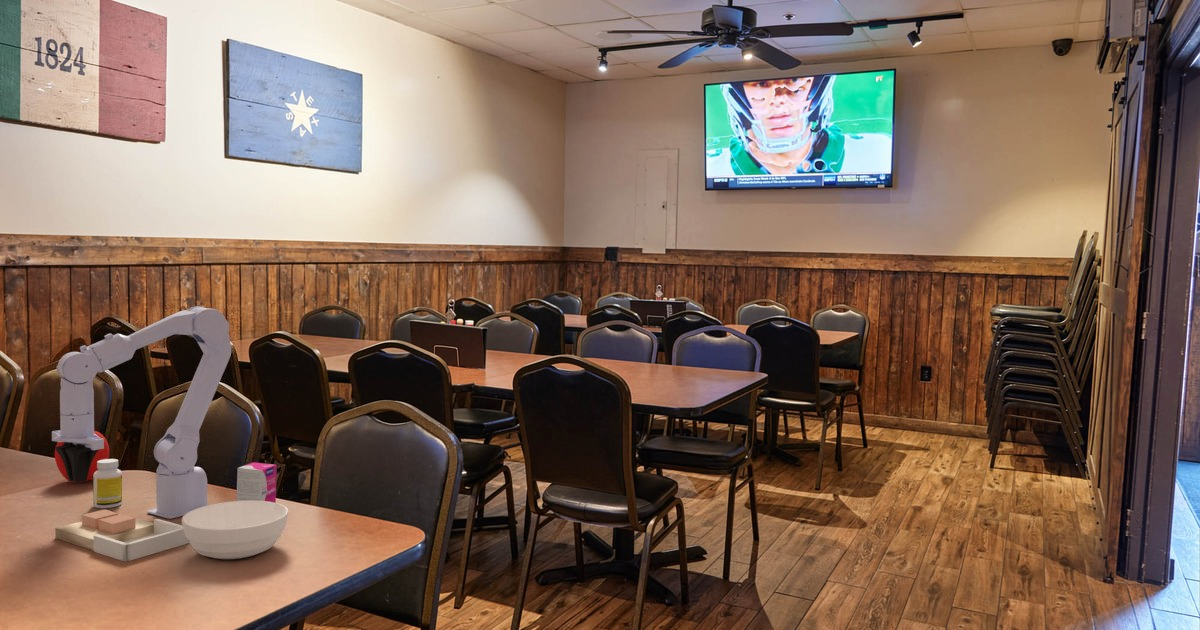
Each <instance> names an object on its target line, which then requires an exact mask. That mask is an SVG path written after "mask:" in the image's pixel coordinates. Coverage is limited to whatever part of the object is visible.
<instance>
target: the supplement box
mask: <svg viewBox="0 0 1200 630" xmlns="http://www.w3.org/2000/svg"><path fill="white" fill-rule="evenodd" d="M277 468H278V466H277V464H275V463H274V464H271V463H261V462H250V463H248V464H245V465H242V466H239V467H237V475H236V477H237V478H236V501H267V502H274V503H277V502H276V500H277V499H276V497H277Z"/></svg>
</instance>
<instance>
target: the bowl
mask: <svg viewBox="0 0 1200 630" xmlns="http://www.w3.org/2000/svg"><path fill="white" fill-rule="evenodd" d="M288 516H289V509H288V507H287V506H285V505H283V504H281V503H278V502H276V503H274V502H267V501H237V500H236V501H235V500H234V501H226V502H225V501H224V502H218V503H212V504H207V506H203V507H200V508H197V509H194V510H192V511H190V512H188V513H186V514H185V515H183V516H182V517H181V525H182V526H183V529H184V534H185V536H186V537H187V538H188V539H189V545H190V546H191V547H192V548H193V549H194V551H196V552H197V553H198V554H199V555H202V556H204V557H209V558H212V559H217V560H239V559H245V558H249V557H253V556H256V555H258V554H260V553H263V552H265V551H267V550H269V549H271V548H272V547H273V546H274V545H275V544H276V543H277V542H278V540H279V539H280V538H281V534H282V531H284V530H285V528H286V526H287V521H288Z"/></svg>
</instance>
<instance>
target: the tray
mask: <svg viewBox="0 0 1200 630" xmlns="http://www.w3.org/2000/svg"><path fill="white" fill-rule="evenodd" d="M153 523H154V533H153V534H149V535H146V536H142V537H138V538H135V539H131V540H127V541H124V542H121V541H118V540H115V539H111V538H108V537H105V536H102V535H98V534H97V535H93V546H94V550H93V552H95V553H97V554H99V555H103V556H106V557H110V558H112V559H116V560H118V561H122V562H125V563H127V562H130V561H133V560H136V559H140V558H143V557H148V556H149V555H153V554H157V553H160V552H164V551H167V550H170V549H175V548H177V547H181V546H184V545H187V544H190V541H189V539H188V538H187V537H186V536H185V534H184V529H183V525H182V524H179V523H174V522H171V521H167V520H164V519H160V518H155V519H153Z"/></svg>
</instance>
